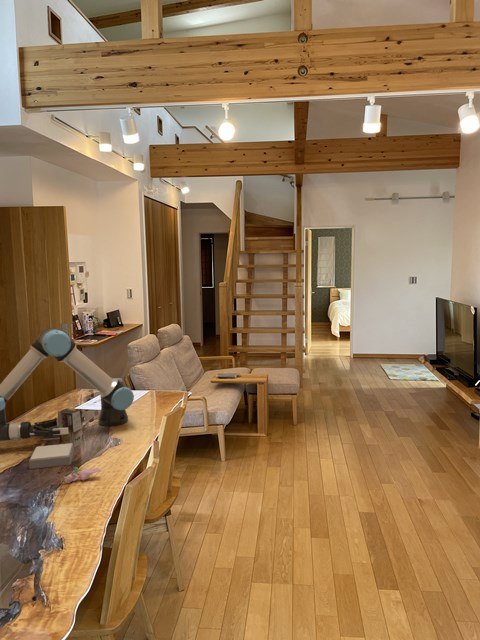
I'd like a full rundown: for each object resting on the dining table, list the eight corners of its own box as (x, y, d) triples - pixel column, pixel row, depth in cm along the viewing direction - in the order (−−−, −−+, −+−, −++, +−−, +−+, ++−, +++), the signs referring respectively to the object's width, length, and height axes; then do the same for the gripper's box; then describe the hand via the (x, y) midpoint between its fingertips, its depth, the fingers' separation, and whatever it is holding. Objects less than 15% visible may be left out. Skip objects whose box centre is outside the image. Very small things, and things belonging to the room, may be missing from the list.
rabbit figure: (62, 489, 192) (102, 477, 196) (58, 475, 191) (99, 463, 195) (62, 483, 198) (102, 471, 202) (59, 468, 197) (98, 457, 201)
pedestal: (74, 451, 228) (73, 442, 228) (70, 464, 213) (69, 455, 212) (36, 455, 225) (35, 446, 224) (29, 469, 209) (28, 459, 209)
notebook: (49, 428, 264) (42, 441, 244) (49, 425, 264) (42, 438, 243) (75, 425, 267) (70, 439, 246) (74, 423, 267) (70, 436, 246)
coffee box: (84, 443, 238) (82, 409, 237) (74, 447, 233) (72, 413, 231) (69, 440, 242) (67, 407, 240) (59, 445, 236) (57, 411, 235)
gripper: (26, 430, 244) (73, 425, 249) (15, 448, 220) (67, 442, 224) (25, 414, 243) (72, 410, 248) (14, 431, 219) (66, 426, 224)
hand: (69, 426), depth 236 cm, fingers open, 13 cm apart
